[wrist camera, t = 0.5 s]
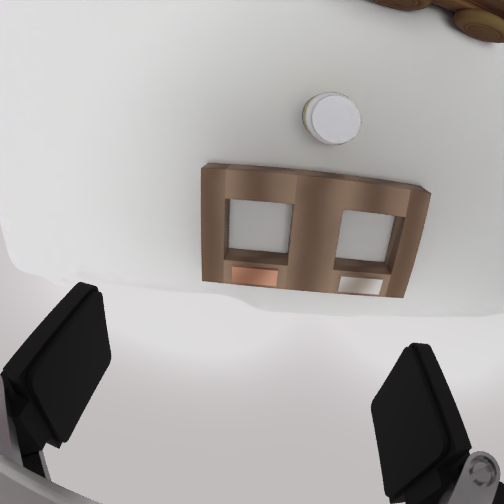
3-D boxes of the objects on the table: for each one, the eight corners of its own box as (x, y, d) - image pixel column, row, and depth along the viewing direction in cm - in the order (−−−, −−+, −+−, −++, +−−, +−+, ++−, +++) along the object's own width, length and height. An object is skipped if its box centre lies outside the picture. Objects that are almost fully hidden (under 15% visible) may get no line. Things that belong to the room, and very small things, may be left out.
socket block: (420, 186, 32) (432, 194, 29) (396, 284, 38) (404, 299, 35) (208, 163, 34) (200, 169, 31) (207, 268, 40) (201, 282, 37)
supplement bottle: (356, 121, 30) (377, 127, 23) (321, 147, 32) (332, 160, 24) (327, 85, 29) (341, 79, 21) (292, 112, 31) (294, 113, 23)
